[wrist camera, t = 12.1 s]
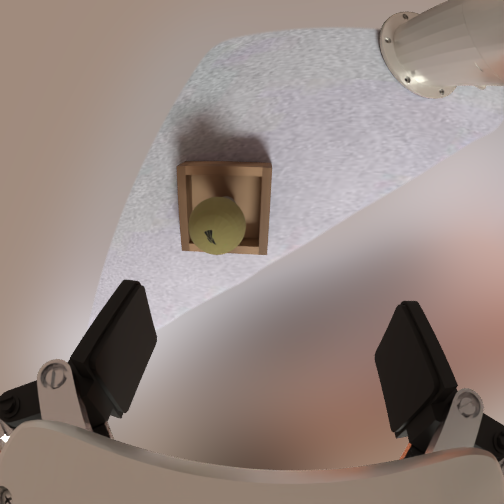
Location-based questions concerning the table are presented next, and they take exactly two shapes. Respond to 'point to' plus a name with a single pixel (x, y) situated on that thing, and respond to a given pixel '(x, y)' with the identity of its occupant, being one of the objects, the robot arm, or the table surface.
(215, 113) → the table surface
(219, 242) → the light bulb
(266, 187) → the open wooden box
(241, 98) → the table surface
